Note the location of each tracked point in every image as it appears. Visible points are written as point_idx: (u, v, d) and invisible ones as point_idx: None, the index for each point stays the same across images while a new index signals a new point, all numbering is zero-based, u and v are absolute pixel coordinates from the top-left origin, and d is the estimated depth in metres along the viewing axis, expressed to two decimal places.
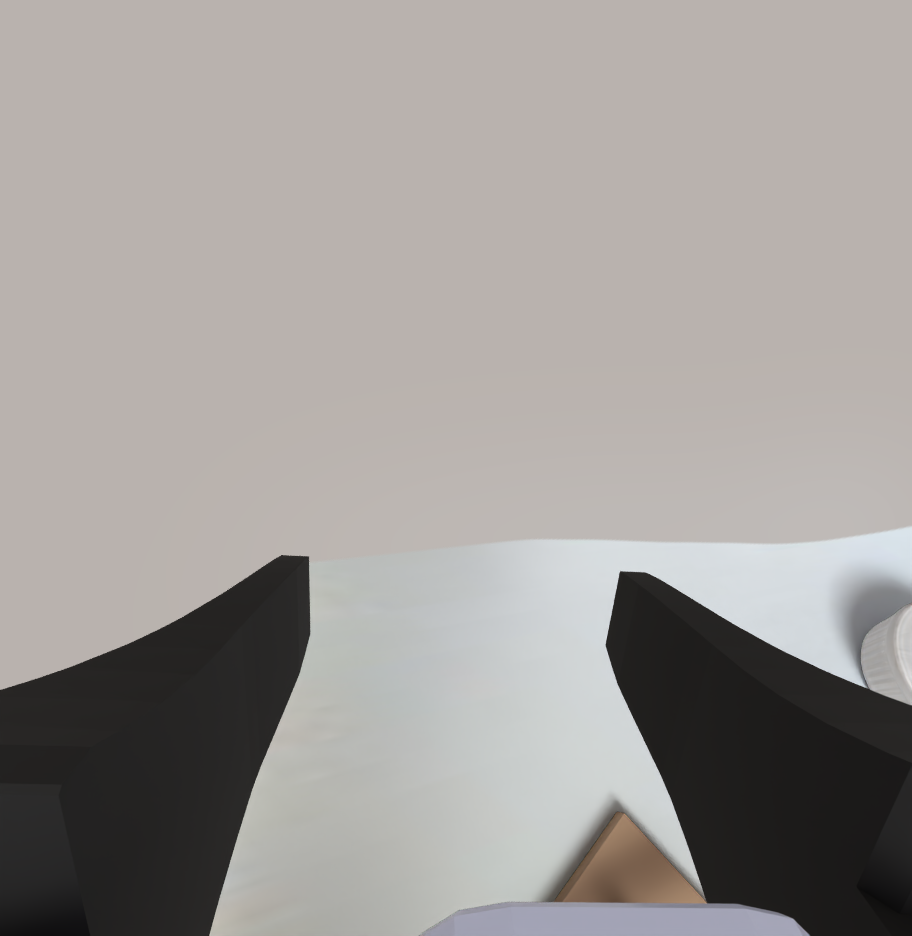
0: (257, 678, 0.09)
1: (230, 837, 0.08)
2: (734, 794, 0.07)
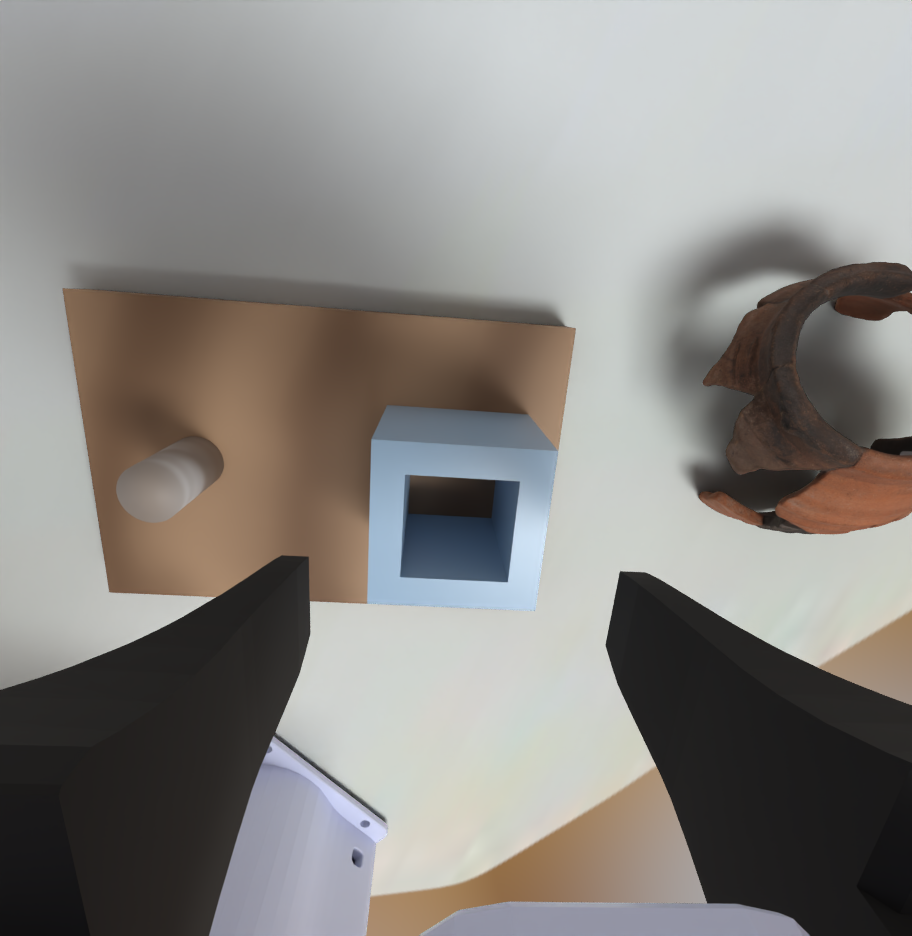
0: (257, 678, 0.09)
1: (230, 837, 0.08)
2: (734, 794, 0.07)
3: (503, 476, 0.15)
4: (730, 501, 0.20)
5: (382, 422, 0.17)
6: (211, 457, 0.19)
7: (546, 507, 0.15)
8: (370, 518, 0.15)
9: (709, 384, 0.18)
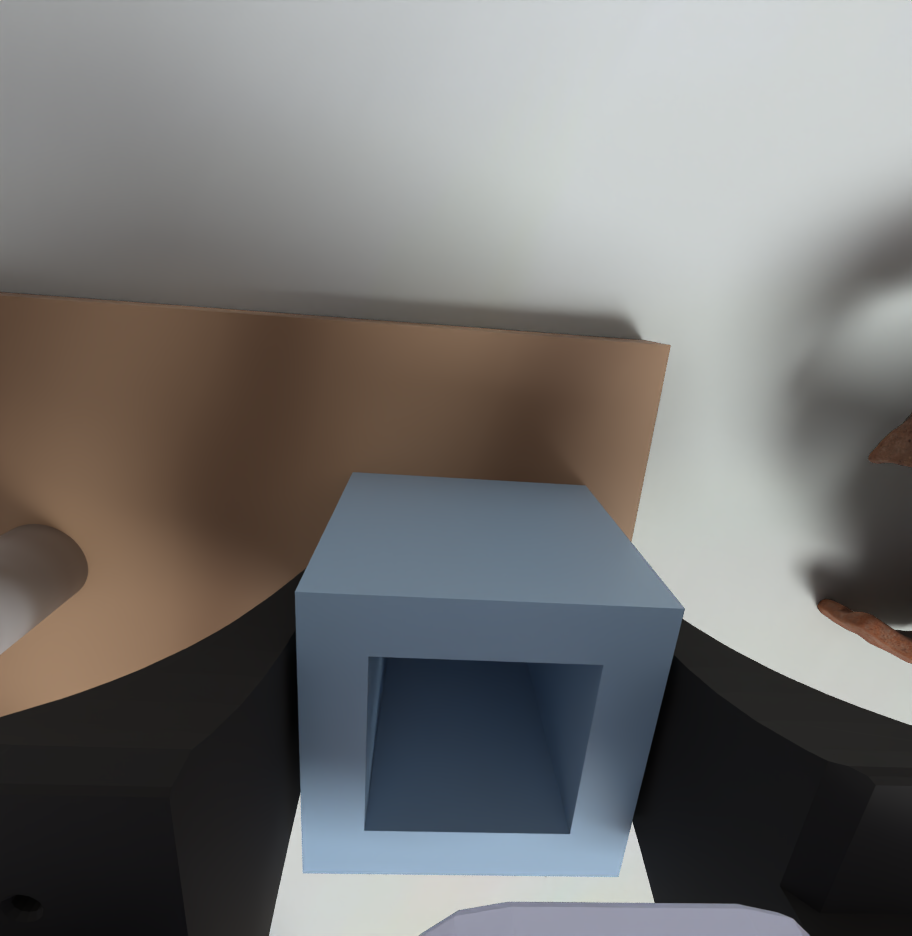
0: None
1: (285, 838, 0.08)
2: (678, 793, 0.07)
3: (569, 656, 0.07)
4: (886, 631, 0.13)
5: (333, 525, 0.09)
6: (55, 563, 0.11)
7: (653, 710, 0.08)
8: (301, 736, 0.08)
9: (883, 461, 0.11)
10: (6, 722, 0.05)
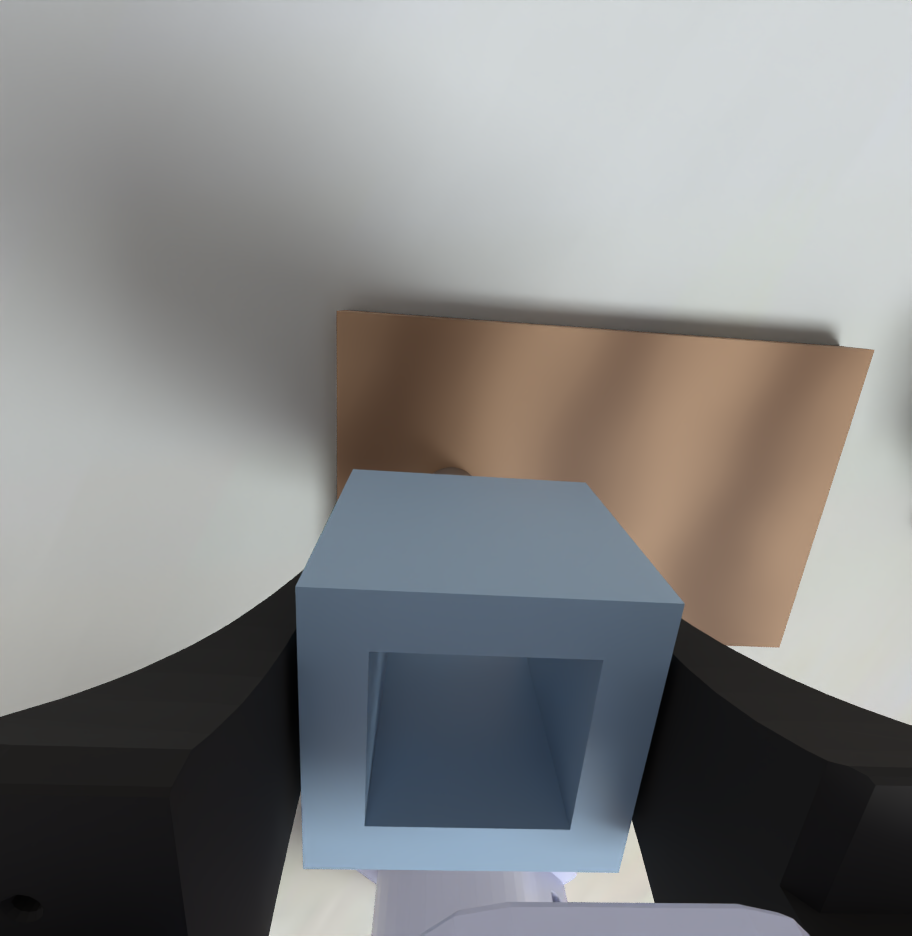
0: None
1: (285, 838, 0.08)
2: (678, 793, 0.07)
3: (569, 651, 0.07)
4: None
5: (333, 521, 0.09)
6: None
7: (653, 706, 0.08)
8: (301, 731, 0.08)
9: None
10: (7, 722, 0.05)
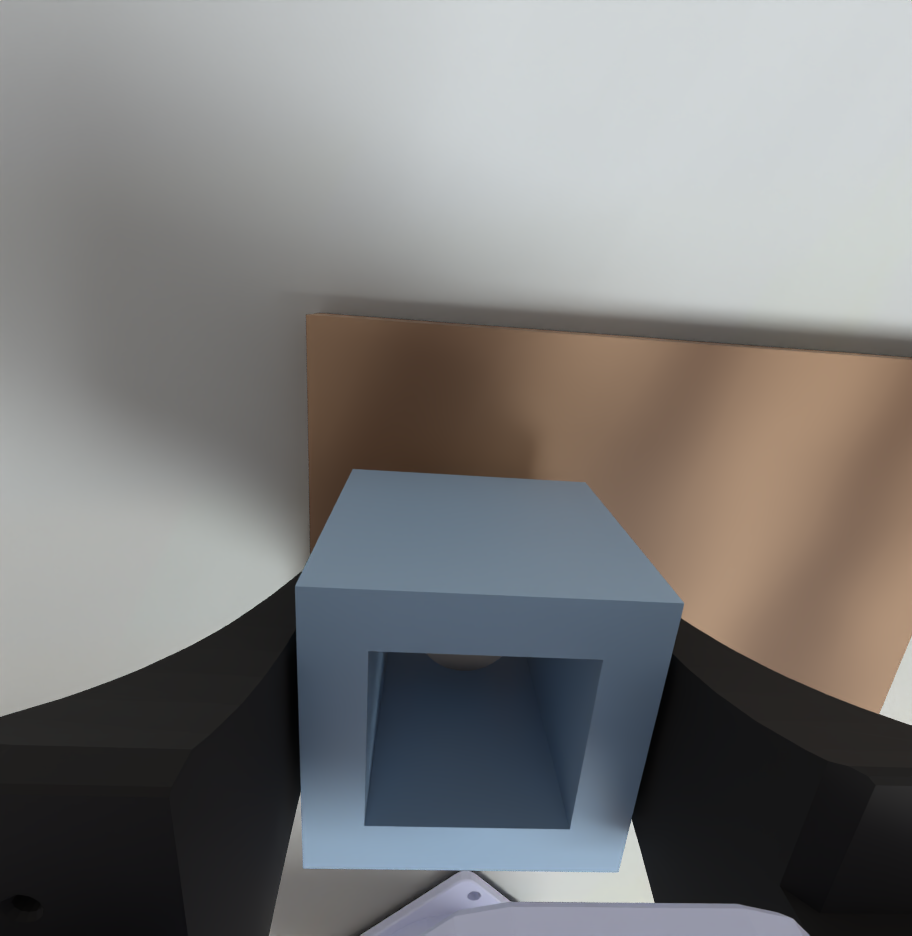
0: None
1: (285, 838, 0.08)
2: (678, 793, 0.07)
3: (569, 650, 0.07)
4: None
5: (333, 521, 0.09)
6: None
7: (652, 705, 0.08)
8: (301, 730, 0.08)
9: None
10: (6, 722, 0.05)
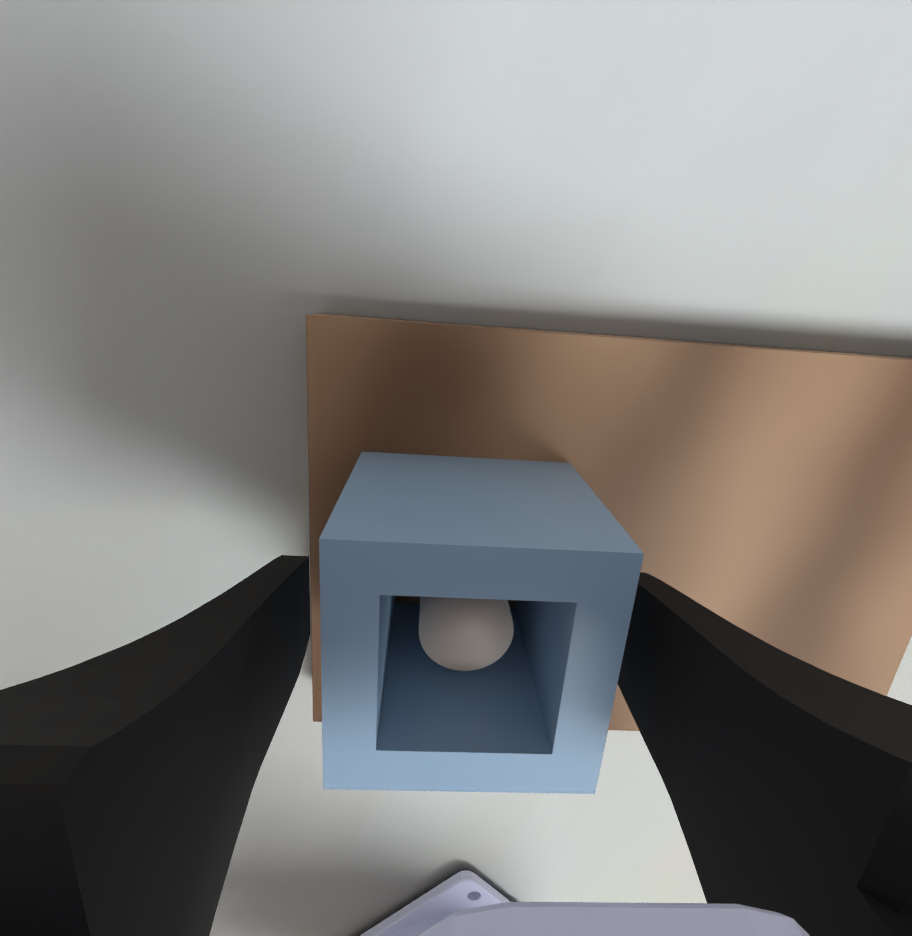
0: (257, 678, 0.09)
1: (230, 837, 0.08)
2: (734, 794, 0.07)
3: (548, 594, 0.09)
4: None
5: (347, 492, 0.10)
6: None
7: (620, 642, 0.09)
8: (323, 664, 0.09)
9: None
10: None
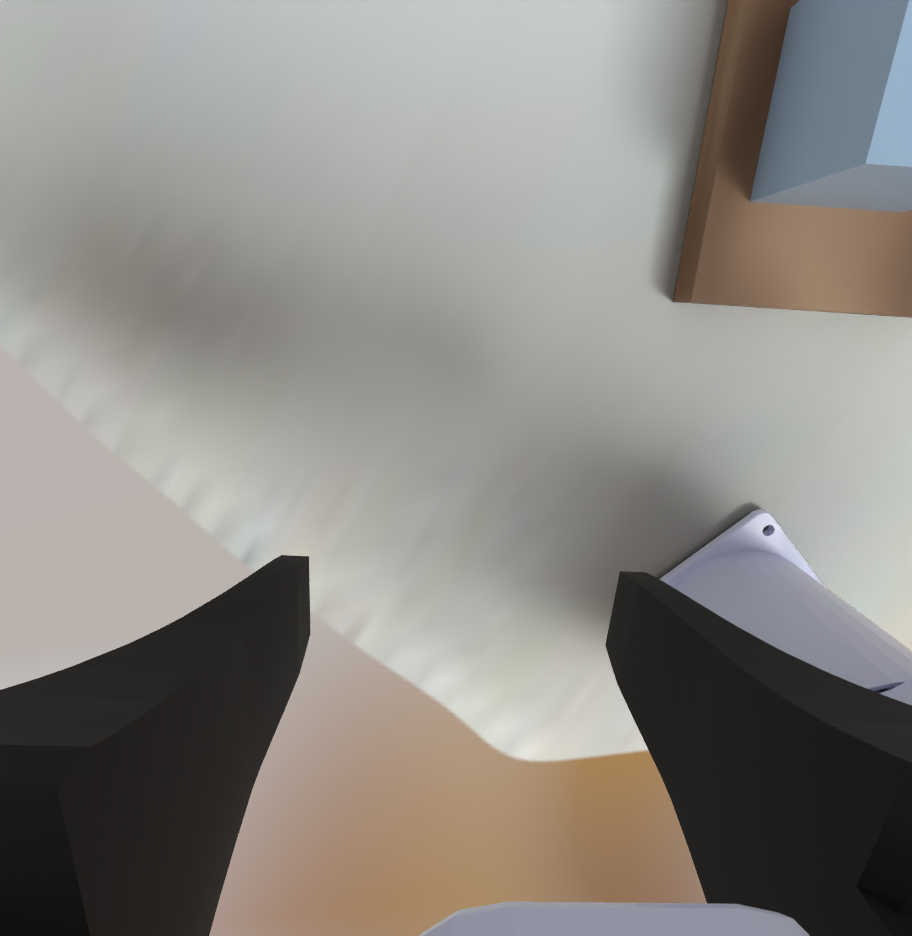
0: (257, 678, 0.09)
1: (230, 837, 0.08)
2: (734, 794, 0.07)
3: None
4: None
5: None
6: None
7: None
8: (906, 18, 0.12)
9: None
10: None
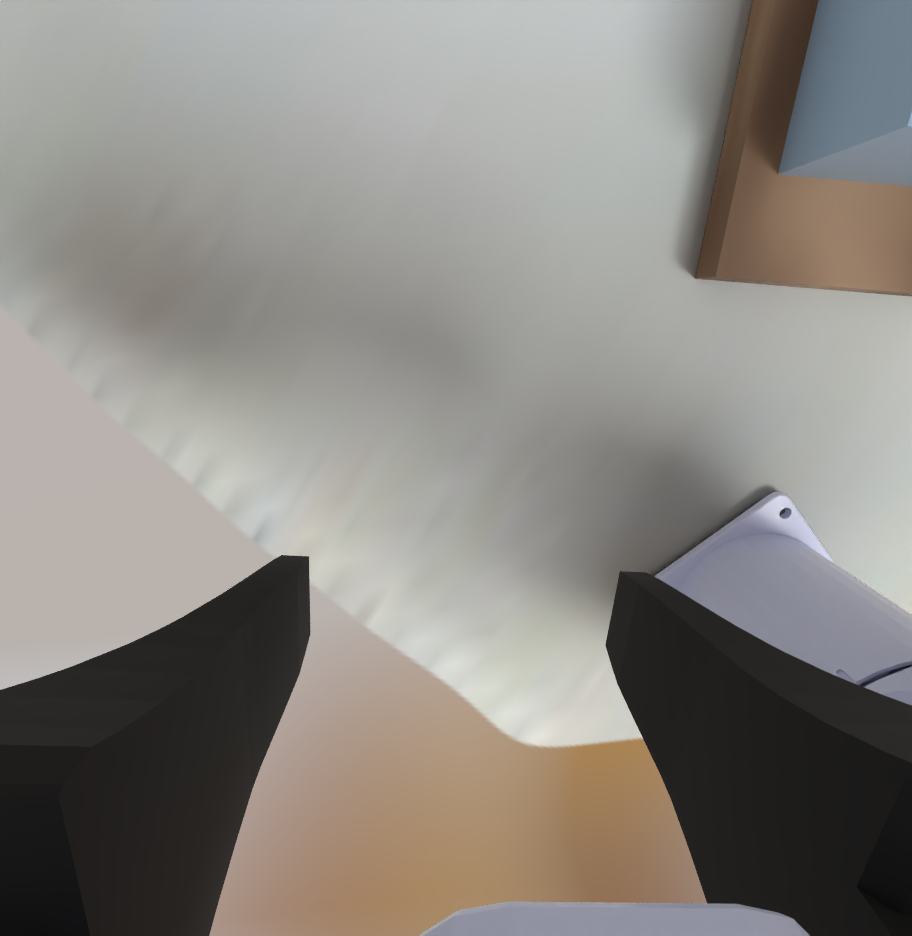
0: (257, 678, 0.09)
1: (230, 837, 0.08)
2: (734, 794, 0.07)
3: None
4: None
5: None
6: None
7: None
8: None
9: None
10: None
